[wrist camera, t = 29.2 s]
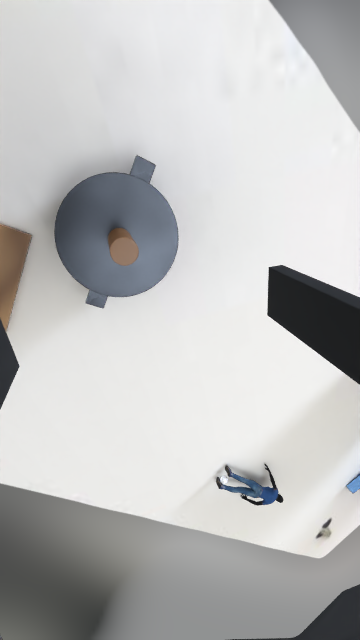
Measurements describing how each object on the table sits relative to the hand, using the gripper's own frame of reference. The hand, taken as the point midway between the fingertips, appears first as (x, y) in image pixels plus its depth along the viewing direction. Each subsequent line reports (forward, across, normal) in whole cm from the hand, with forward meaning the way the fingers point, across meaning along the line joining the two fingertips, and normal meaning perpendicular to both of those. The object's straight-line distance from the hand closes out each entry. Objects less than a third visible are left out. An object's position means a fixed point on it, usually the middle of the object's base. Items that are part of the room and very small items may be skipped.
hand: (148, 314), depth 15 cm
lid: (+24, 0, 0) cm, 24 cm away
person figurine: (+31, +20, -60) cm, 70 cm away
